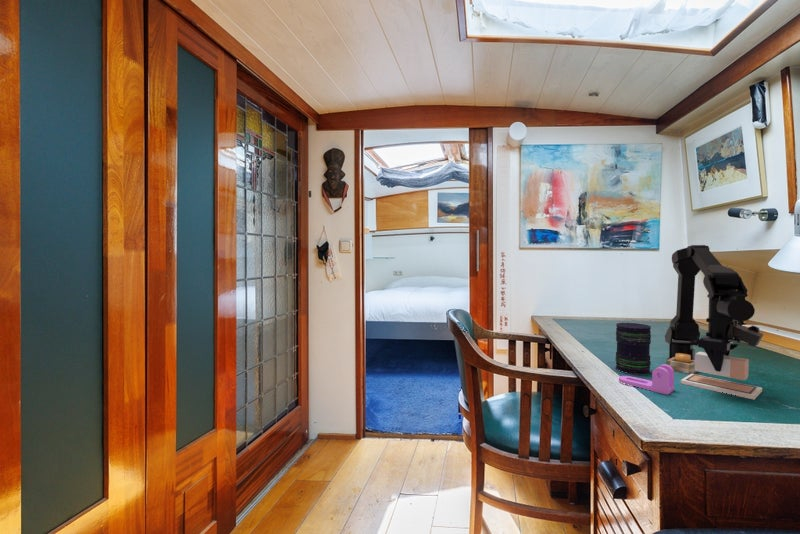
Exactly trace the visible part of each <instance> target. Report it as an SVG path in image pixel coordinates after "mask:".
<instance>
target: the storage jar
mask: <svg viewBox="0 0 800 534" xmlns="http://www.w3.org/2000/svg"><path fill="white" fill-rule="evenodd" d="M615 326H616V329H615V340H616V352H615V365H616V366H615V369H616V370H617V369H618V370H620V371H623V372H622V373H624V372H627V373H626V374H628V373H632V374H631V375H634V374H648V375H650V374H651V363H652V361H651V355H650V352H651V351H650V346H651V344H652V334H651V329H652V327H651V326H652V325H648V324H643V323H637V322H617V323H616V324H615ZM618 370H617V371H618ZM620 371H619V372H620ZM649 373H650V374H649Z"/></svg>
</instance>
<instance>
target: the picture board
mask: <svg viewBox="0 0 800 534" xmlns="http://www.w3.org/2000/svg"><path fill="white" fill-rule="evenodd" d="M680 384H681V385H686V386H690V387H695V388H700V389H703V390H709V391H713V392H717V393H722V392H723V393H722V394H726V393H727V394H728V395H731V394H732V396H735V395H736V396H735V397H740V398H744V399H750V400H754V401H755V400H756V398H757V397H759V395H761V393H762V392H763V387H761V386H755V385H750V384H746V383H740V382H736V381H730V380H726V379H720V378H715V377H709V376H705V375H701V374H696V373H694V374H688V375H687V376H685V377H683V378H682V379H680ZM727 394H726V395H727Z"/></svg>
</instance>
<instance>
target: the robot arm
mask: <svg viewBox="0 0 800 534" xmlns="http://www.w3.org/2000/svg"><path fill="white" fill-rule="evenodd" d="M671 262H672V267H673V269H674V270H675V272H676V274H677V275H678V276H677V293H676V312H675V313H676V314H675V315H674V317H673V318H672V319H670V322H669V327H668V328H667V330H666V333H665V335H664V341H665V343H667V344H668V345H669V348H668V349H669V351H668V355H669V356H668V358H667V359H666V361H667V360H669V359H671V358H673V357H675V355H676V353H682V354H688V355H690V356H691V360H694V361H695V354H696V349H695V348H694V346H695V347H698V348H701V349H702V350H704V352H706V354H707V355H708V357H709V359H710V361H711V363H712V365H713V367H714V369H715V371H719V372H720V371H721V368H722V364H723V360H724V356H730V354H731V352H732V350H734V349H736V348H737V347H739V346H740V344H741V343H745V344H747V345H748V346H751V347H757V346H758V345H759V344H760V341H761V340H762V338H763V336H764V334H763V332H761V330H760V327H759V326H756V325H750V326H749V327H746V326H742V325H739V322H745V321H749V320H750V319H751V318H753V316H754V315H755V311H756V309H755V307H754V305H753V304H752V302H750V301H749V300H747V299H746V298H747V297H748V296H749V295H748V288H747V287H746V285H745V284H744V281H743V279H742V277H741V276H740V275H739V273H738V272H737V271H736V270H734V269H733V268H730V267H727V266H724V265H723V264H722V263H721V262H720V261H719V260H718V259H717V258H716V256H715V255H714V253H712V252H711V251H710V246H708V245H705V244H691V245H688V246H687V247H684V248H681V249H678V250H676V251H675V252H673V253H672V255H671ZM699 272H702V274H703V280H702V282H703V286H704V288H705V290H707V293H708V294H707V296H706V297H707V298H708V317H706V323H707V326H708V329H707V331H706V332H705V336H702V337H701V332H700V330H699V329H700V325H699V323H697V322H696V320H695V318H694V305H695V304H694V300H695V285H696V277H697V275H698V274H699ZM735 341H736V342H737V343H733V342H735ZM738 343H739V344H738Z"/></svg>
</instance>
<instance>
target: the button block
mask: <svg viewBox="0 0 800 534" xmlns="http://www.w3.org/2000/svg"><path fill="white" fill-rule="evenodd" d="M666 365H669V366H671V367H672V368H673V370H674V372H678V373H684V374H686V375H687V374H688V375H690V374H696V373H697V372H698V371H695V360H691V363H690V364H688V363H682V362H677V361H675V357H673V358H671V359H669V360H667V359H666Z"/></svg>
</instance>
